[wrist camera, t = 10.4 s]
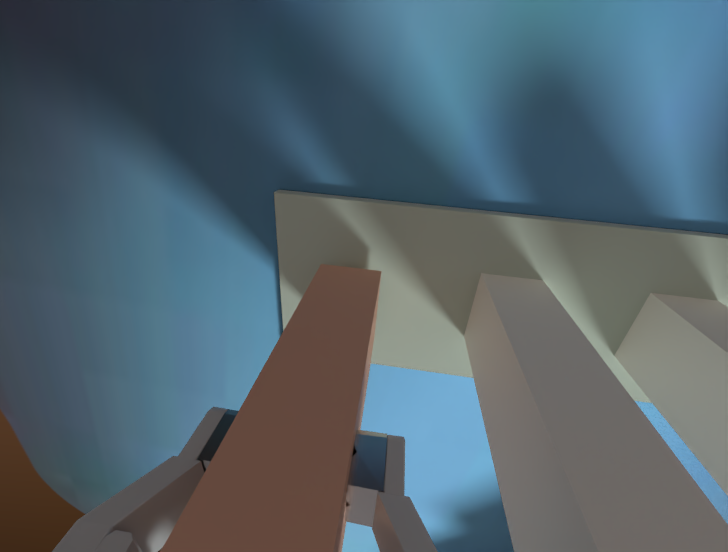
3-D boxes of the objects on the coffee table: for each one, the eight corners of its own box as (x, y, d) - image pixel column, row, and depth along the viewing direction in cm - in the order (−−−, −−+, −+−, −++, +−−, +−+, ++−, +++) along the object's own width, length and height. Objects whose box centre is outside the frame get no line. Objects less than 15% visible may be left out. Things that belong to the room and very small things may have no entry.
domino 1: (381, 271, 16) (322, 614, 5) (374, 335, 18) (321, 682, 7) (321, 263, 16) (145, 578, 5) (320, 328, 18) (191, 653, 7)
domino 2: (543, 280, 16) (806, 629, 5) (518, 343, 18) (676, 690, 7) (481, 273, 16) (615, 593, 6) (463, 335, 18) (539, 662, 7)
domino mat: (1247, 287, 13) (1283, 295, 12) (995, 443, 18) (1013, 453, 17) (278, 189, 16) (273, 192, 15) (287, 344, 21) (284, 351, 20)
